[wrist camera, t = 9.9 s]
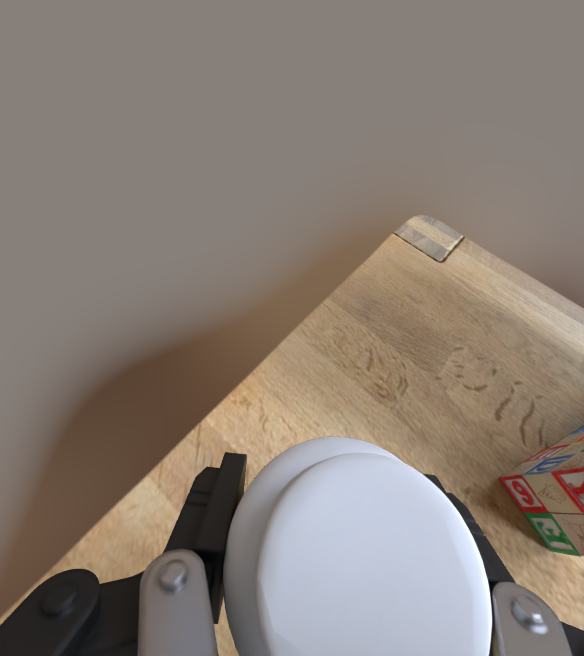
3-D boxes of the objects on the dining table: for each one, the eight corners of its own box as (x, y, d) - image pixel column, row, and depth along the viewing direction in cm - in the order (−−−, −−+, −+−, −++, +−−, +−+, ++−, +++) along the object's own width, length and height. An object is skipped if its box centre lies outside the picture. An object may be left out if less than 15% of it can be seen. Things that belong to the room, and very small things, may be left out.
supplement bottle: (349, 460, 16) (458, 392, 7) (385, 603, 13) (633, 781, 4) (236, 481, 15) (197, 434, 6) (249, 639, 12) (215, 952, 4)
